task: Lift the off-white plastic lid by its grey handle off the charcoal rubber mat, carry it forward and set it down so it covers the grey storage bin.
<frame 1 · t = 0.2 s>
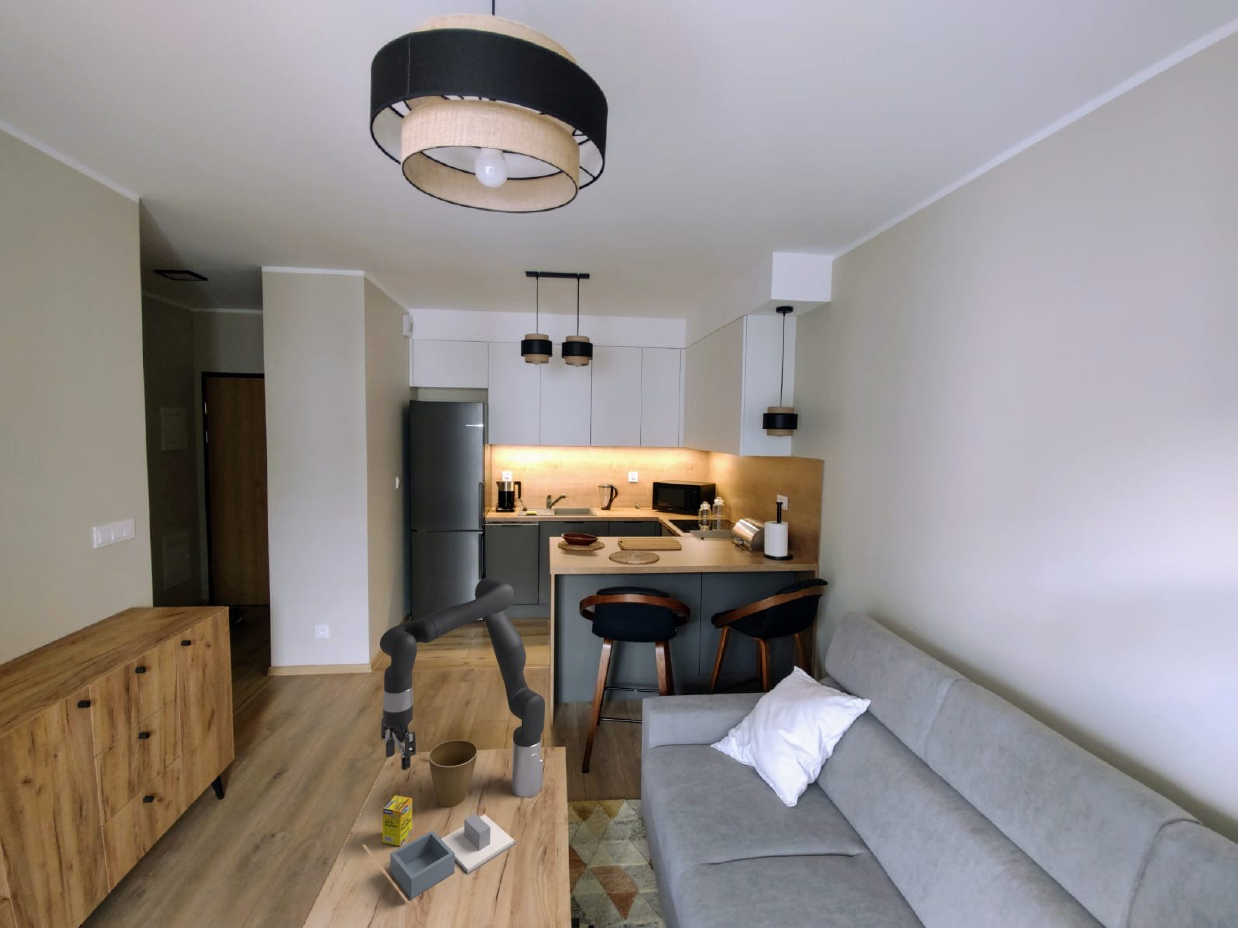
hand: (397, 762, 147), 29 cm above the table, tool pointing down, fingers open, 8 cm apart
mat: (476, 845, 156), on the table
grey storage bin: (422, 874, 145), on the table
lid: (476, 843, 156), point 1 cm above the table, touching mat
supplement box: (397, 840, 157), on the table
plant pot: (452, 801, 175), on the table
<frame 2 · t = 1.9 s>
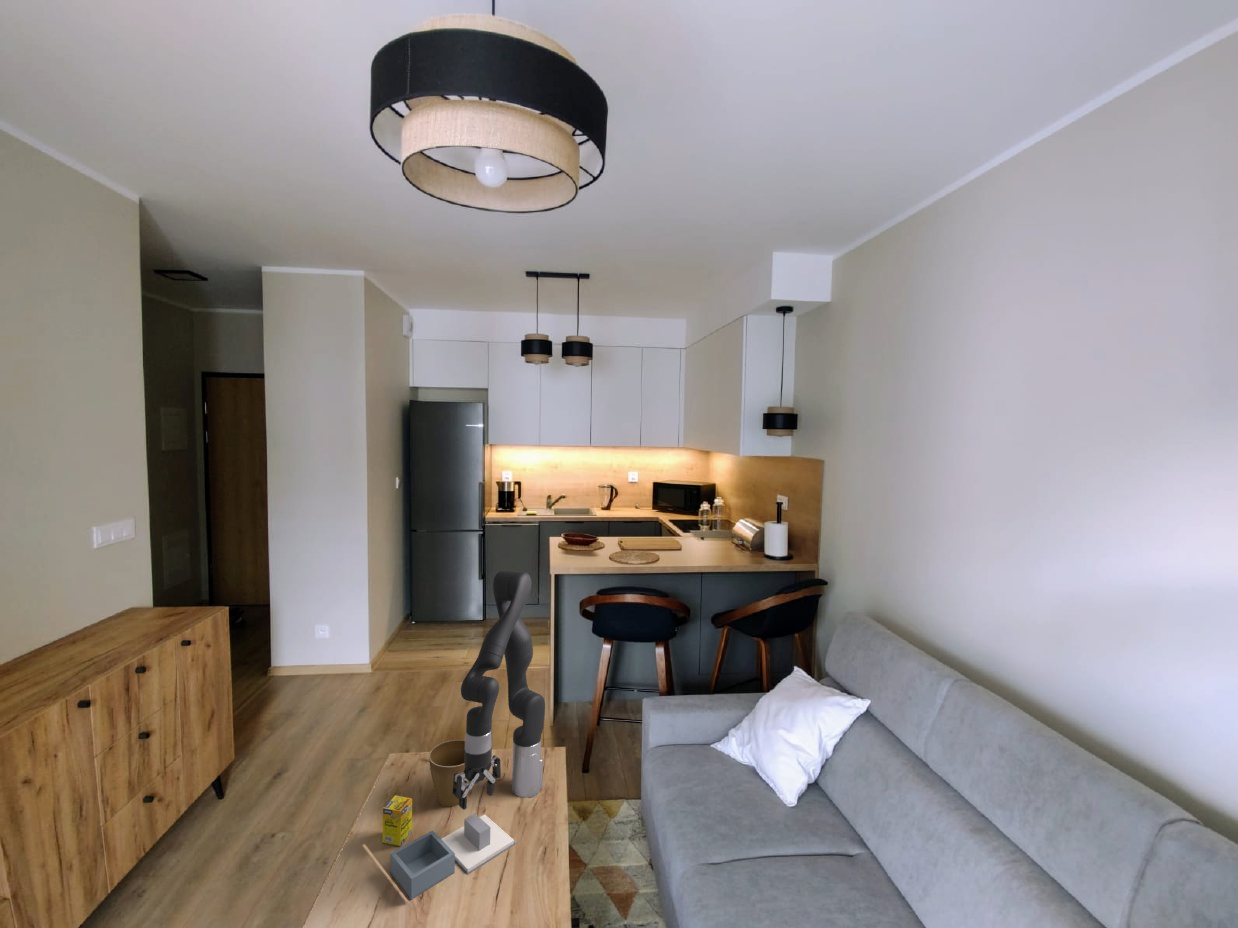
hand: (476, 801, 155), 13 cm above the table, tool pointing down, fingers open, 8 cm apart
nothing on the table moved.
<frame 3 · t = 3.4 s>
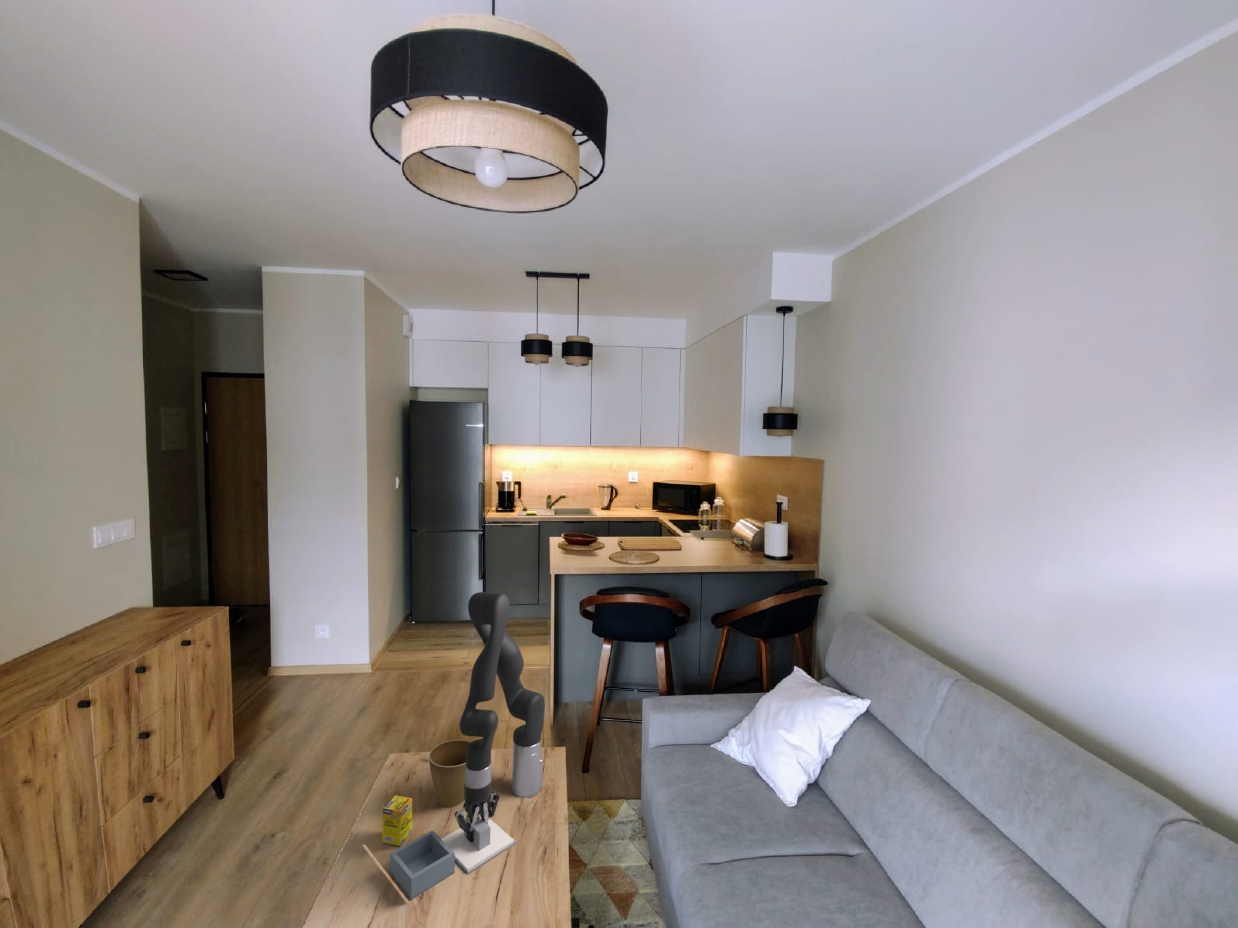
hand: (476, 836, 156), 2 cm above the table, tool pointing down, fingers closed on lid, 3 cm apart
lid: (476, 843, 156), point 1 cm above the table, touching gripper, mat
everything else where it was.
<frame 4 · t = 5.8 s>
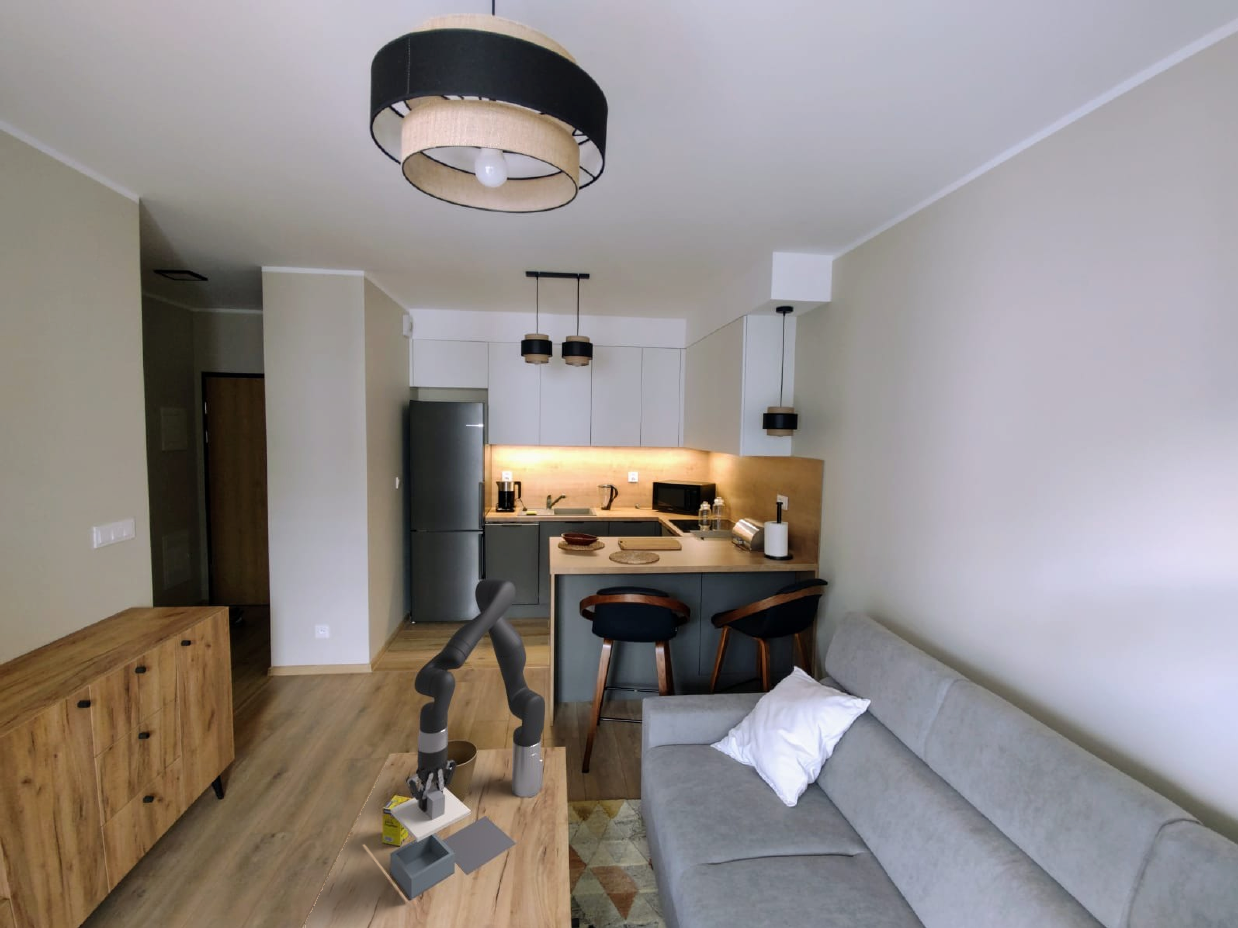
hand: (430, 806, 145), 18 cm above the table, tool pointing down, fingers closed on lid, 3 cm apart
lid: (430, 813, 145), point 16 cm above the table, touching gripper
everything else where it was.
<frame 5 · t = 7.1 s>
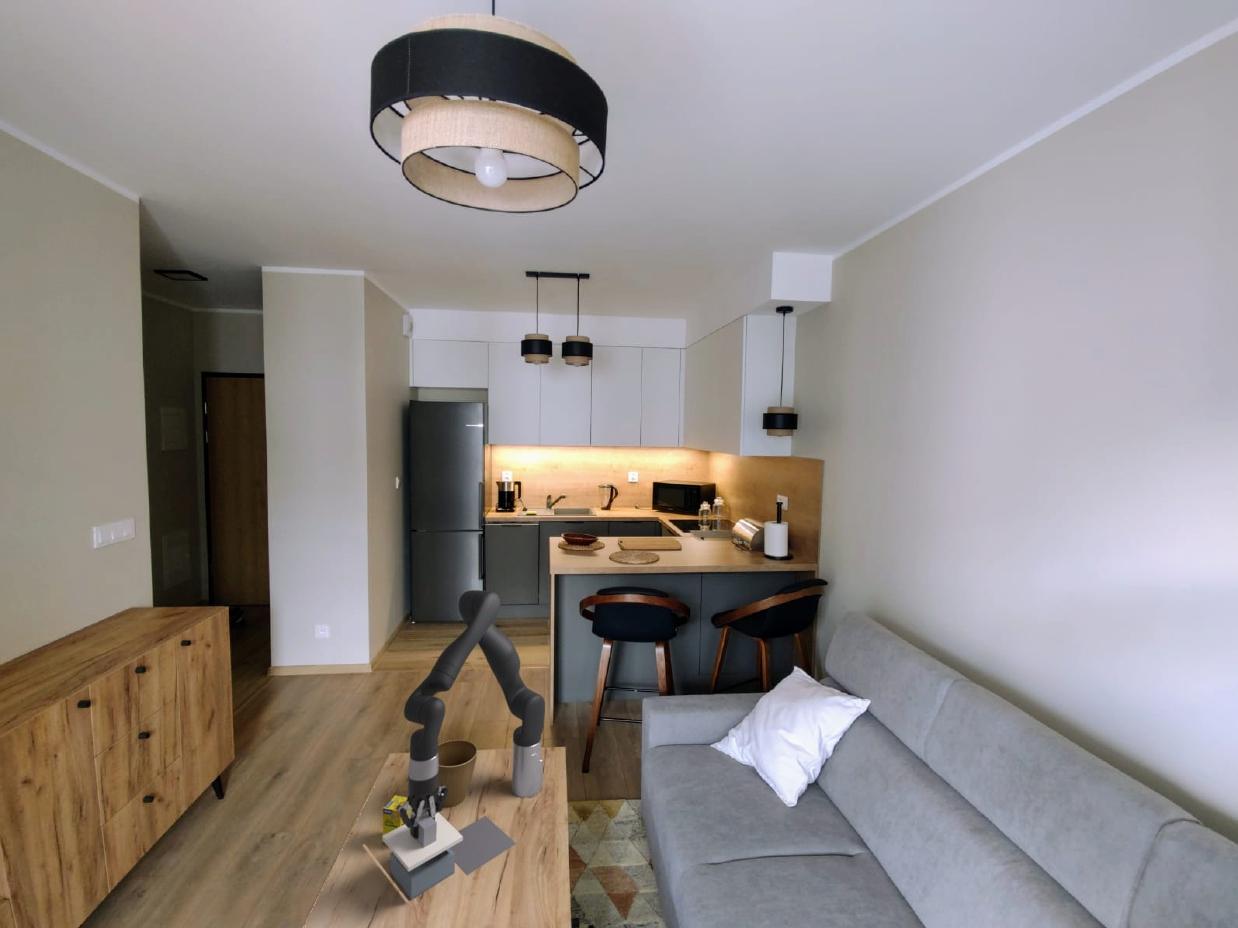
hand: (422, 832, 144), 12 cm above the table, tool pointing down, fingers closed on lid, 3 cm apart
lid: (422, 839, 145), point 10 cm above the table, touching gripper
everything else where it was.
when the fingers open (9 cm above the table, at t = 8.2 s): lid drops 1 cm, resting on grey storage bin.
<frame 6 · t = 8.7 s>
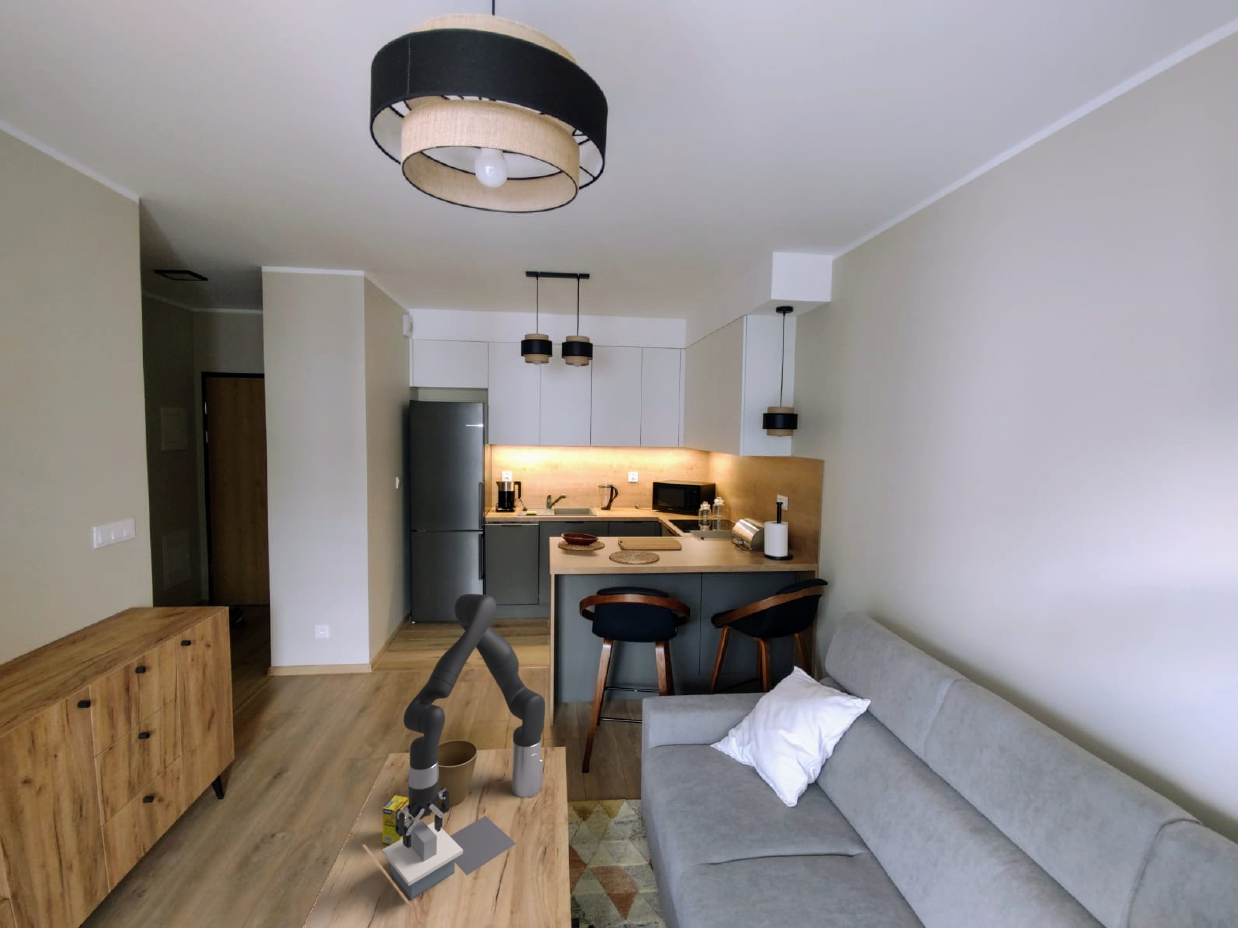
hand: (422, 837, 144), 10 cm above the table, tool pointing down, fingers open, 8 cm apart
lid: (422, 853, 145), point 6 cm above the table, touching grey storage bin
everything else where it was.
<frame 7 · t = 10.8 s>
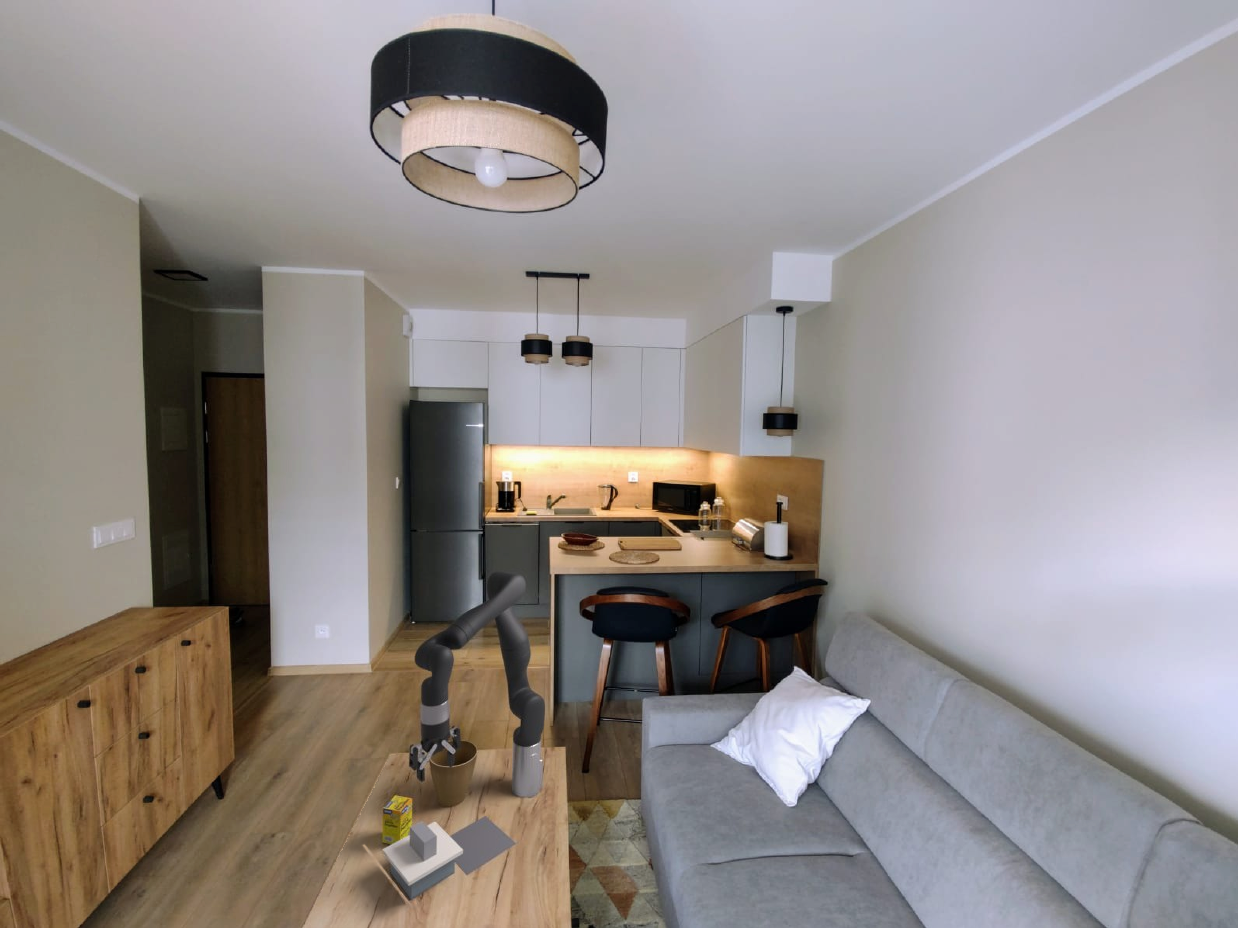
hand: (436, 772, 150), 24 cm above the table, tool pointing down, fingers open, 8 cm apart
nothing on the table moved.
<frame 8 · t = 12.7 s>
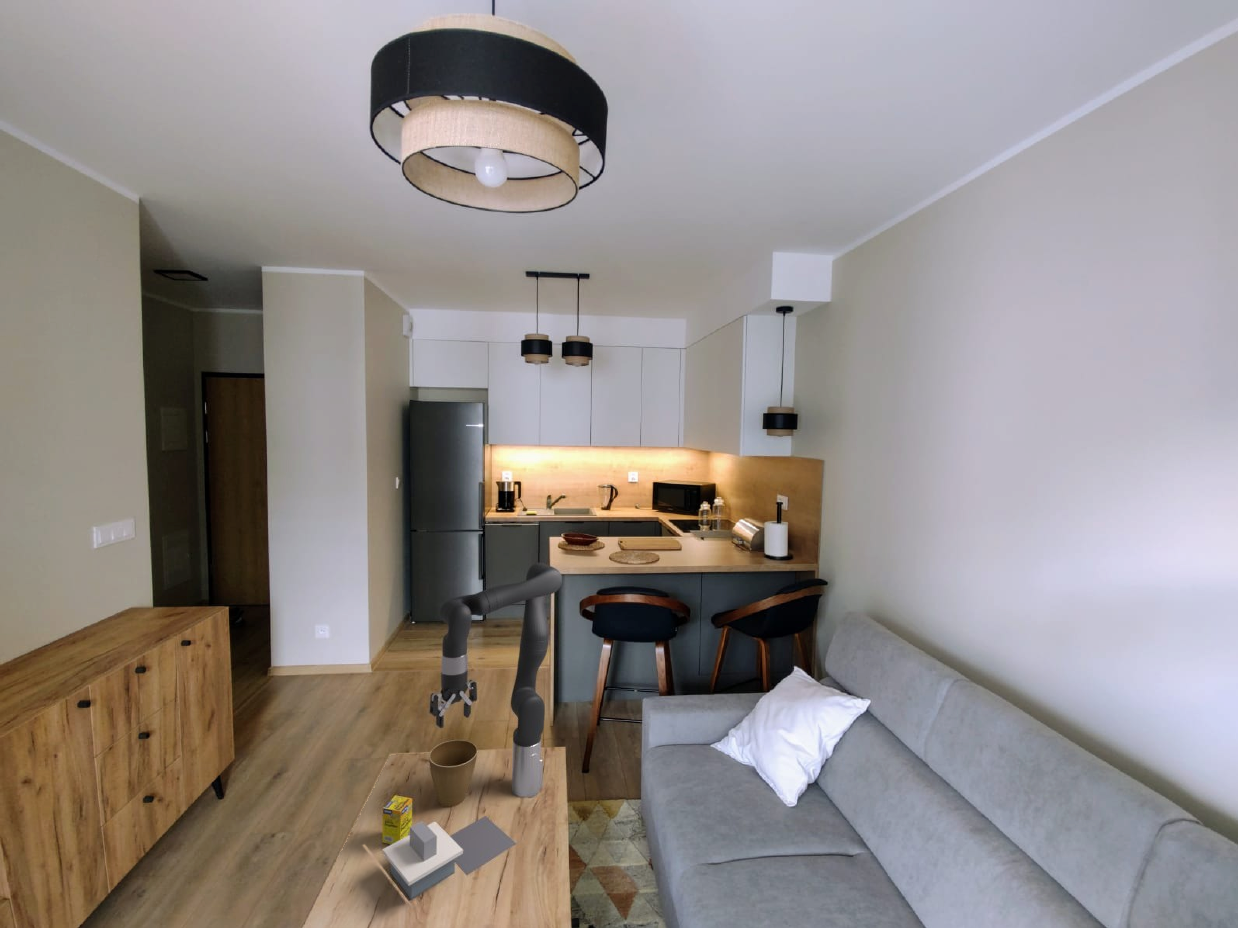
hand: (453, 721, 162), 32 cm above the table, tool pointing down, fingers open, 8 cm apart
nothing on the table moved.
at the end: lid 0.1 cm off-centre on the grey storage bin, point 6.0 cm above the grey storage bin's base; lid tilted 0°; the gripper is holding nothing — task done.
